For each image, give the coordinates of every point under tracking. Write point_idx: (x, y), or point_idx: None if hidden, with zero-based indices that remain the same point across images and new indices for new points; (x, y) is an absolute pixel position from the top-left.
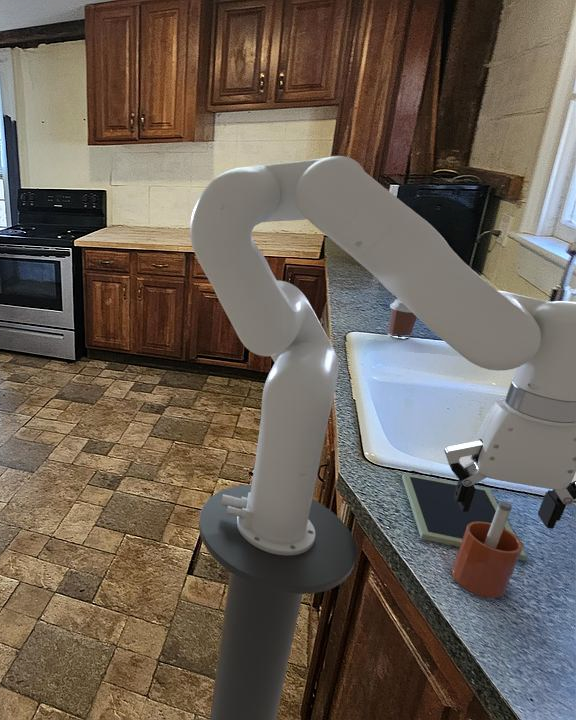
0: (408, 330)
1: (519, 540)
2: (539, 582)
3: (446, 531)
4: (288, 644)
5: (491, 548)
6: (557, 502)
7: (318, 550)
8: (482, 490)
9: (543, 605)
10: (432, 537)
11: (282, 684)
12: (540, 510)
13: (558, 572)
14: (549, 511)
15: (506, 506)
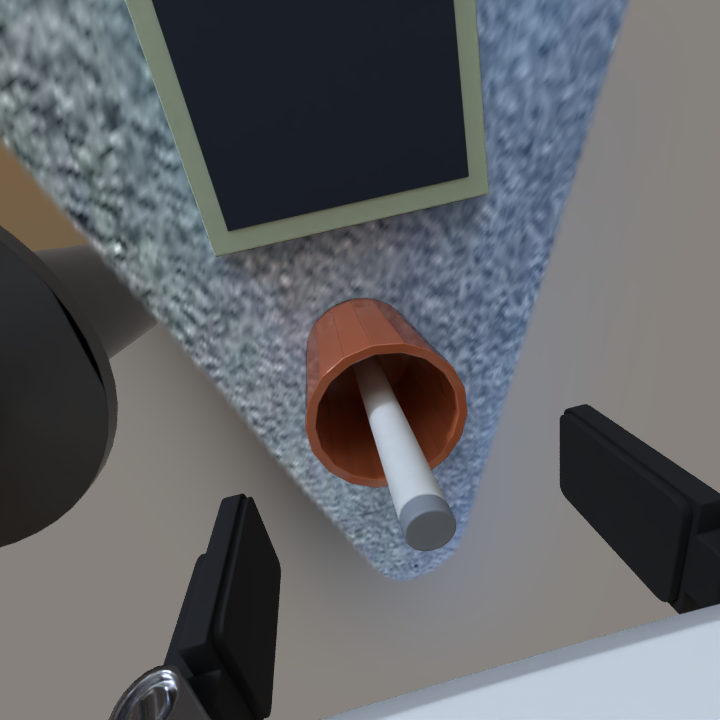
0: None
1: (463, 395)
2: (493, 272)
3: (278, 198)
4: (137, 324)
5: (375, 485)
6: (683, 605)
7: (13, 406)
8: None
9: (481, 353)
10: (245, 249)
11: None
12: (580, 436)
13: (550, 197)
14: (611, 528)
15: (431, 545)
